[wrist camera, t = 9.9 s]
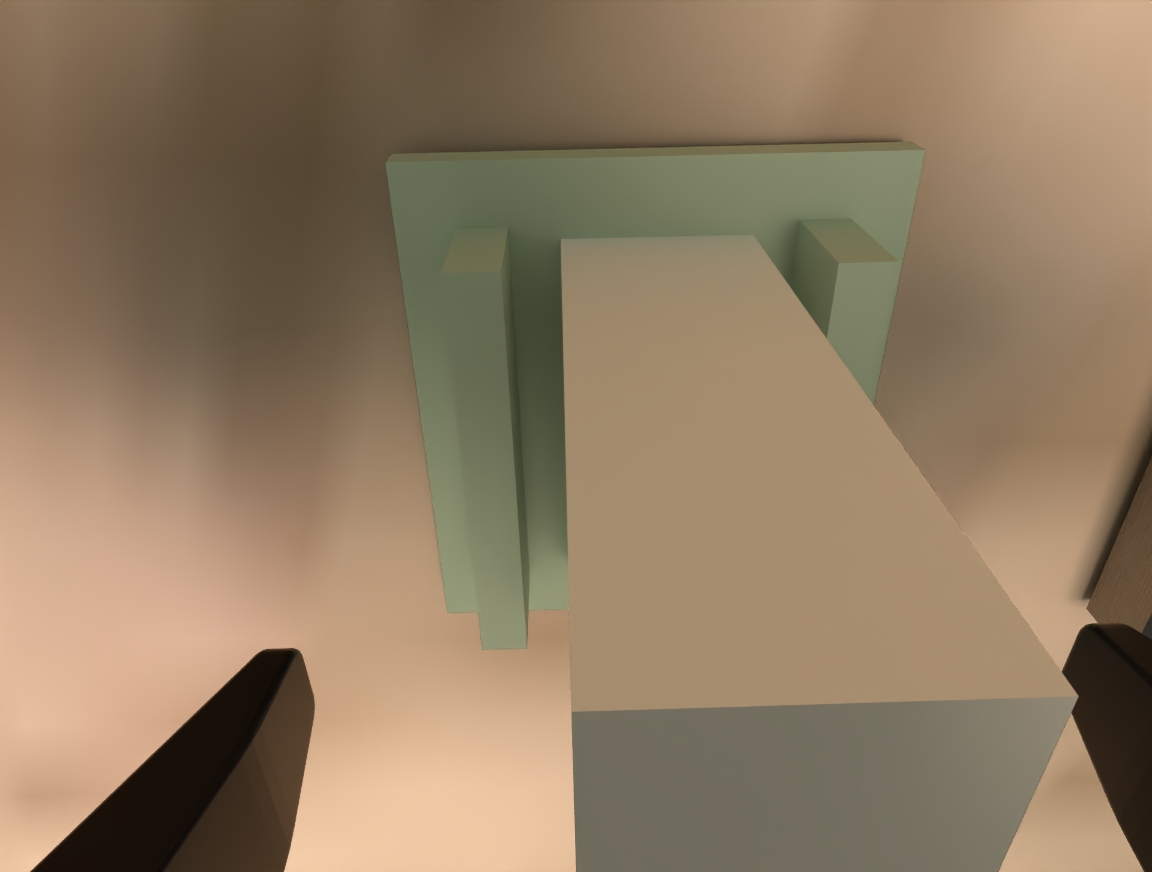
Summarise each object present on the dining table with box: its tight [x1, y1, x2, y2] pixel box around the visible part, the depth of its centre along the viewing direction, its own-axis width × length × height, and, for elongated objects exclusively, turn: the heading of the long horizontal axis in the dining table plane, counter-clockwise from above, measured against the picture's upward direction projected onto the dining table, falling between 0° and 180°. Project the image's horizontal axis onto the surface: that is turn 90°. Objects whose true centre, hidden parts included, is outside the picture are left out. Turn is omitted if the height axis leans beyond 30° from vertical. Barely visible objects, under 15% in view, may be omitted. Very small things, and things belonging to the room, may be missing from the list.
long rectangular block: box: [561, 234, 1079, 872], centre depth 10 cm, size 3×6×9 cm, turn 1°
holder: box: [385, 142, 926, 650], centre depth 13 cm, size 8×9×3 cm
